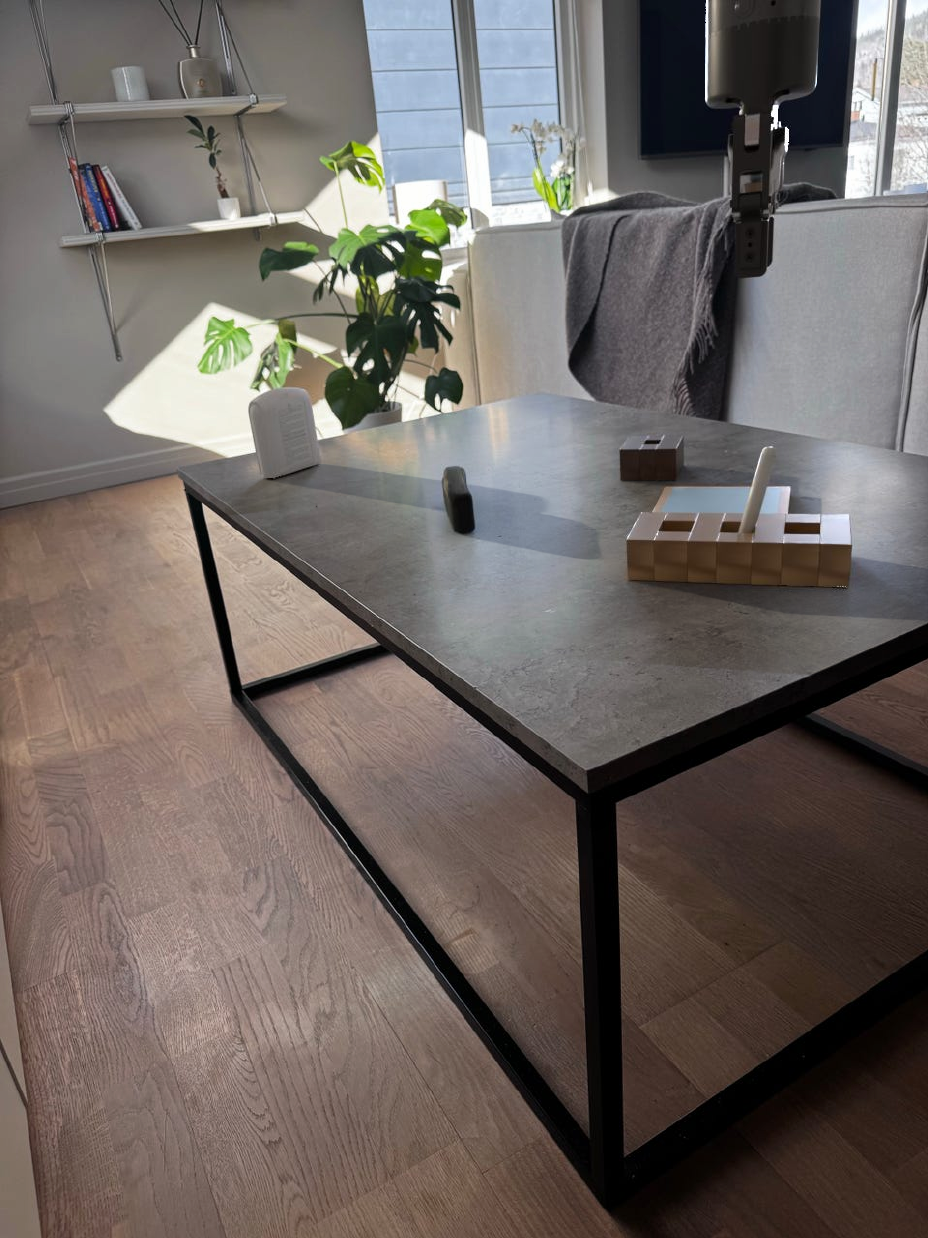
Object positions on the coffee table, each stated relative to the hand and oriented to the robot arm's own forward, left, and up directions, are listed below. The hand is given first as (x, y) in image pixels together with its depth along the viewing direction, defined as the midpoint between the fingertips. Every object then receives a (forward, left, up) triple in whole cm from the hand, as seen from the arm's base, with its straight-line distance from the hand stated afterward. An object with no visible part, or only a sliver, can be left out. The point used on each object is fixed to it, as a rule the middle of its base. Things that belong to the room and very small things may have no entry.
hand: (754, 272), depth 68 cm
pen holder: (+1, -4, -26) cm, 26 cm away
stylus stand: (+14, -36, -26) cm, 47 cm away
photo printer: (+69, -38, -26) cm, 83 cm away
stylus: (+1, -4, -26) cm, 26 cm away
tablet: (+4, -18, -26) cm, 32 cm away
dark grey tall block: (+34, -18, -26) cm, 47 cm away
